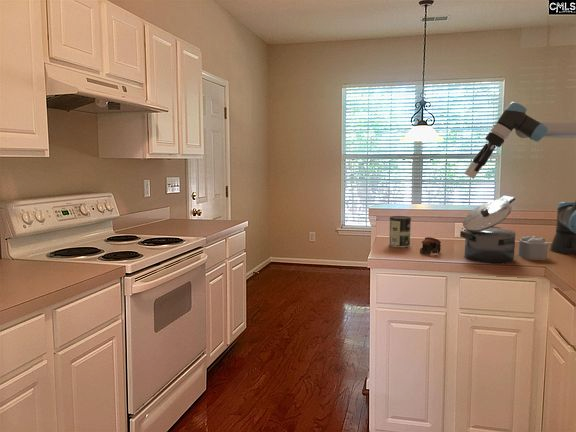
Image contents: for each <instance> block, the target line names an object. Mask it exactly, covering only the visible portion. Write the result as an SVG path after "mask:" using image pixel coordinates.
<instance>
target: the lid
mask: <svg viewBox="0 0 576 432" xmlns="http://www.w3.org/2000/svg"><path fill="white" fill-rule="evenodd" d="M515 200H516V197H515V196H509V195H502V196H501V197H500V198H499V199H495V200H491V201H488V202H485V203H483V204H481V205H479V206H477V207H475V208H473V210H471V211H470V212H469V213H468V214H467V215H465V217H464V219H463V220H462V226H463V228H464V230H465V231H466V230H467V231H471V232H476V231H482V230H485V229H488V228H491V227H496V225H498V224H500V223H501V222H503V221H504V220H505V219H506V218H507V217H508V216H509V215H510V213H511V212H512V210H513V209H512V205H511V204H512V203H513V202H514V201H515Z"/></svg>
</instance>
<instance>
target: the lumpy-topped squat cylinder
mask: <svg viewBox="0 0 576 432" xmlns="http://www.w3.org/2000/svg"><path fill="white" fill-rule="evenodd" d="M548 248H549V242H547V241H546V239H545V238H544V237H540V238H538V237H537V236H536V235H533V236H529V235H527V236H522V237H521V238H520V239H519V245H518V256H519V257H521V258H522V259H524V260H536V261H537V260H538V261H539V260H540V261H546V260H547V259H548Z"/></svg>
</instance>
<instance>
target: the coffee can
mask: <svg viewBox="0 0 576 432" xmlns="http://www.w3.org/2000/svg"><path fill="white" fill-rule="evenodd" d="M411 221H412V217H410V216H406V215H405V216H404V215H393V216H392V215H391V216H389V235H388V236H389V237H388V239H389V240H388V245H389V247H394V248H408V247H410V246H411Z"/></svg>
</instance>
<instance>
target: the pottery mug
mask: <svg viewBox="0 0 576 432" xmlns="http://www.w3.org/2000/svg"><path fill="white" fill-rule="evenodd" d="M441 242H442V241H440V239H437V238H435V237H432V236H431V237H430V236H429V237H428V236H427V237H424V239H423V240H422V241H421V244H422V246H421V248H420V249H419V254H425V255H429V256H430V255H432V253H433V254H437V252H438V253H440V252H441V249H442V248H441Z"/></svg>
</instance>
